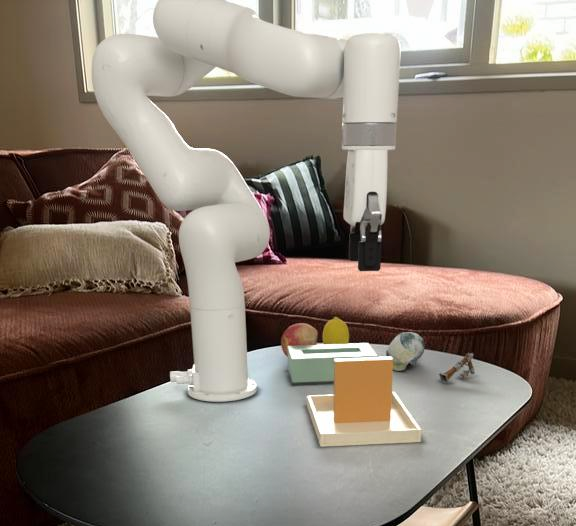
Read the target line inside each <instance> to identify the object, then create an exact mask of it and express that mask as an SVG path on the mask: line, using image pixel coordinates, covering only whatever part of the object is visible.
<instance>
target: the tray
mask: <svg viewBox="0 0 576 526" xmlns="http://www.w3.org/2000/svg"><path fill="white" fill-rule="evenodd" d="M306 408H307V411H308V413H309V417H310V420H311V423H312V426H313V429H314V432H315V435H316V437H317V441H318V444H319V447H321V448H322V447H323V448H325V447H344V446H361V445H362V446H365V445H366V446H368V445H385V444H408V443H409V444H411V443H421V442H422V432H423V431H422V428H421V426H420V425H419V423H418V422H417V421H416V420H415V418H414V416H413V415H412V414H411V413H410V411H409V410H408V408H407V407H406V406H405V404H404V402H403V401H402V400H401V398H400V397H399V395H398V394H397V393H396V392H395V391H392V399H391V421H374V422H352V423H335V422H334V420H333V417H334V393H333V394H332V393H331V394H311V395H309V394H308V395H306Z"/></svg>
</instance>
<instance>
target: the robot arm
mask: <svg viewBox="0 0 576 526" xmlns="http://www.w3.org/2000/svg"><path fill="white" fill-rule="evenodd" d="M152 24H153V27H154V31H155V33H156V36H150V35H142V34H136V33H135V34H133V33H118V34H114V35H113V34H112V35H110V36H108V37H106V38H104V39H102V40H101V41H100V42H99V43H98V45H97V46H96V48H95V49H94V52H93V55H92V58H91V59H92V60H91V83H92V90H93V94H94V98H95V100H96V102H97V105H98V107H99V110H100V111H101V113H102V115H103V116H104V118H105V120H106V121H107V122H108V124H109V125H110V127H111V128H112V129H113V130H114V132H115V133H116V134H117V136H118V137H119V139H120V140H121V141H122V143H123V144H124V145H125V147H126V148H127V150H128V151H129V153H130V155H131V156H132V158H133V161H135V163H136V165H137V166H138V169H140V171H141V172H142V174H143V176H144V177H145V179H146V180H147V182H148V184H149V185H150V187H151V189H152V190H153V191H154V193H155V194H156V196H157V198H158V199H159V201H160V202H161V203H162V204H163V205H164V206H165V207H166V208H167V209H169V210H171V211H175V212H185V211H186V212H187V211H191V212H189V213H188V214H187V215H185V217H183V220H182V222H181V223H180V226H179V229H178V245H179V250H180V253H181V257H182V261H183V265H184V269H185V275H186V281H187V288H188V289H187V290H188V298H189V299H188V300H189V312H190V324H191V325H190V327H191V338H192V353H193V365H192V368H190V369H187V371H180V370H175V371H174V370H173V371H169V378H170V383H176V385H184V384H185V385H188V386H187V395H188V396H189V397H190V398H192V399H194V400H198V401H202V402H203V401H204V402H211V403H213V402H215V403H220V402H221V403H223V402H224V403H225V402H226V403H227V402H233V401H240V400H243V399H247V398H250V397H251V396H253V395H255V394H256V393H257V391H258V384H257V383H256V382H255V380H252V379H251V378H250V379H249V372H248V371H249V368H248V349H247V348H248V347H247V344H248V343H247V323H246V303H245V289H244V285H243V282H242V279H241V276H240V274H239V271H238V268H237V266H236V263H239V262H243V261H244V262H245V261H248V260H251V259H254V258H257V257H259V256H260V255H261V254H263V253H264V251H266V249H267V247H268V245H269V242H270V238H271V230H270V229H271V228H270V224H269V221H268V218H267V215H266V213H265V212H264V210H263V208H262V206H261V204H260V203H259V201H258V200H257V198H256V196H255V195H254V193H253V192H252V190H251V188H250V187H249V186H248V184H247V182H246V181H245V179H244V177H243V176H242V174H241V173H240V171H239V170H238V168H237V167H236V165H235V164H234V162H233V161H232V160H231V159H230V158H229V157H228V156H227V155H225V154H224V153H223V152H221V151H219V150H216V149H213V148H195V147H194V148H193V147H191V146H189V145H188V144H187V143H186V142H185V140H184V139H183V137H182V136H181V134H179V132H178V130H177V128H176V127H175V125H174V123H173V122H172V121H171V119H170V118H169V116H167V115H166V113H165V112H163V110H161V108H159V106H157V105H156V104H155V103H154V102H152V100H151V99H150V98H149V97H166V98H167V97H176V96H179V95H182V94H184V93H185V92H187V91H188V90H190V89H191V88H192V87H194V86H195V85H196V84H197V83H199V81H201V80H202V79H203V78H205V77H206V76H207V75H208V74H209V73H211V72H212V71H213V70H214V69H216V68H218V69H221V70H224V71H227V72H229V73H232V74H234V75H236V76H237V77H240V78H241V79H243V80H245V81H246V82H250V83H252V84H253V85H256V86H260V87H264V88H267V89H269V90H272V91H274V92H278V93H281V94H283V95H287V96H290V97H294V98H295V97H296V98H313V99H323V100H324V99H325V100H336V99H341V98H342V119H341V121H342V124H341V125H342V126H341V150H343V151H347V156H346V157H347V158H346V167H345V181H344V182H345V183H344V200H343V215H342V216H343V220H344V221H345V222H346V223H347V224H349V225H350V229H349V230H350V233H349V239H348V240H349V241H348V260H349V261H351V262H357V270H358V271H359V272H380V270H381V268H382V267H381V264H382V245H383V242H382V225H383V224H384V223H385V220H386V213H387V198H388V197H387V193H388V167H389V164H388V161H389V160H388V159H389V151H395V150H396V143H397V125H398V109H399V107H398V106H399V90H400V72H401V71H400V70H401V43H400V40H399V39H398V37H397V36H395V35H393V34H390V33H382V32H381V33H380V32H371V33H368V32H367V33H359V34H354V35H352V36H350V37H348V39H344V38H339V37H333V36H332V37H331V36H328V35H322V34H317V33H310V32H303V31H301V30H296V29H291V28H288V27H285V26H282V25H278V24H274V23H271V22H268V21H265V20H262V19H260V17H259V15H258V13H257V12H256V11H255V10H254V9H252V8H250V7H248V6H244V5H240V4H237V3H233V2H230V1H227V0H158V1H157V2H156V4H155V7H154V9H153V15H152Z"/></svg>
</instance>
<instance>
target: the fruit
mask: <svg viewBox="0 0 576 526" xmlns="http://www.w3.org/2000/svg"><path fill="white" fill-rule="evenodd" d="M301 345H318V330H317V329H316V328H315V327H313V326H312V325H310V324H308V323H306V322H305V323H304V322H300V323H299V322H298V323H295V324H292V325H290V326H288V327H287V329H285V331H284V332H283V333H282V336H281V338H280V346H281V350H282V352H283V354H284V355H285V356H286V357H287V358H288V348H287V346H301Z"/></svg>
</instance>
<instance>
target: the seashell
mask: <svg viewBox="0 0 576 526" xmlns="http://www.w3.org/2000/svg"><path fill="white" fill-rule="evenodd" d="M425 346H426V345H425V342H424V338H422V337H421V336H420V335H419V334H418V333H416V332H412V331H407V332H405V331H404V332H403V331H402V332H399V333H398V334H397V335H396V336H395V337H394V338H393V339H392V341H391V342H390V343H389V345H388V347H387V350H386V351H385V354H386V355H385V357H392V358H393V371H396V372H402V371H405V370H406V369H407V366H408V365H409V364H410V365H411V366H416V363H417V362H418V361H419V359H421V357H422V356H423V354H424V353H425V349H426V348H425Z"/></svg>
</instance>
